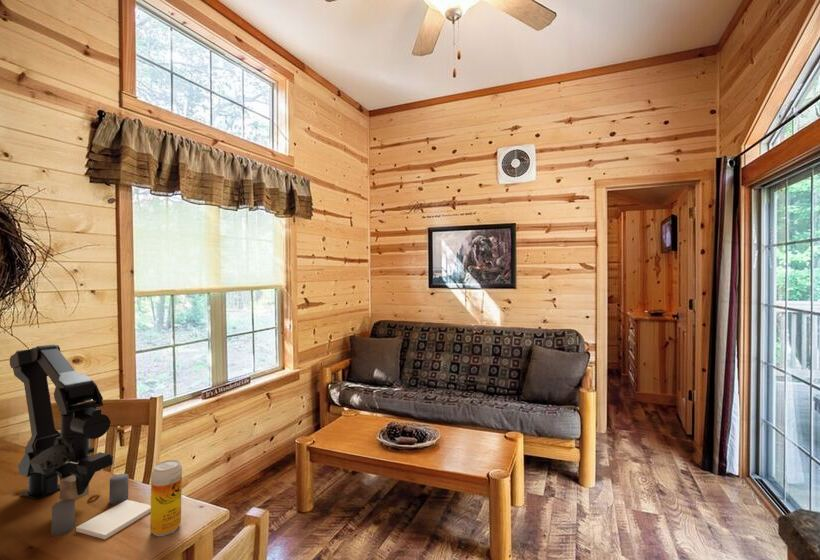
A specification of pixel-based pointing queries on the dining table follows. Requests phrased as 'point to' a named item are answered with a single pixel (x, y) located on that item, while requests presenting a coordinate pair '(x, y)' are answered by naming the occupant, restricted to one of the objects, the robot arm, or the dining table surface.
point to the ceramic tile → (114, 519)
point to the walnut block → (70, 489)
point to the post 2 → (118, 489)
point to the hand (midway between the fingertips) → (74, 492)
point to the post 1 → (63, 517)
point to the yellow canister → (166, 497)
